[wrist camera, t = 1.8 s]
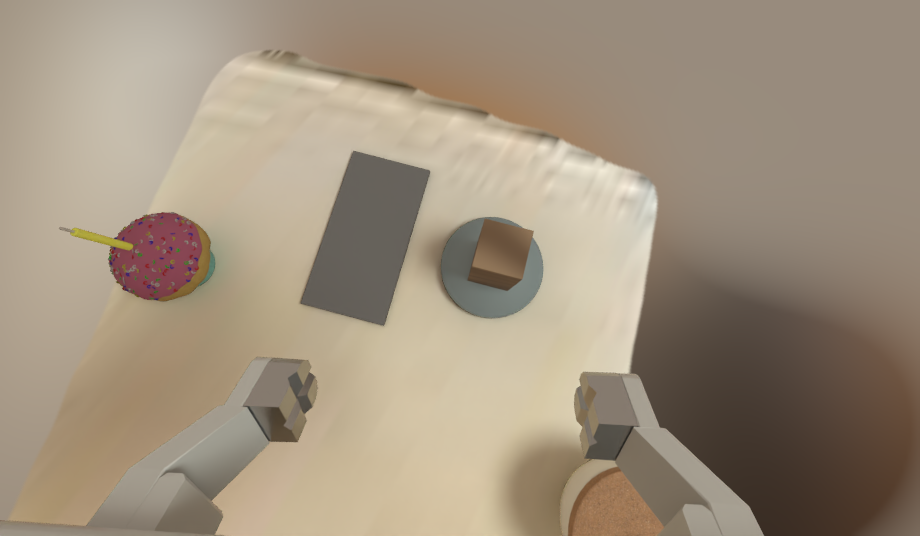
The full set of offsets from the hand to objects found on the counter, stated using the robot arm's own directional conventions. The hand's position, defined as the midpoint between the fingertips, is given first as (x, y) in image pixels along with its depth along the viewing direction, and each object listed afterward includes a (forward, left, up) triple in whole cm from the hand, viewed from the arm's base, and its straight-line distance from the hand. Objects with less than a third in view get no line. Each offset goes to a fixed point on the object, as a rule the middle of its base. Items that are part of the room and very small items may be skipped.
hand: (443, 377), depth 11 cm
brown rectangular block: (+10, -3, -27) cm, 29 cm away
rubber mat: (+10, +11, -28) cm, 32 cm away
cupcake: (+2, +28, -28) cm, 40 cm away
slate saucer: (+10, -3, -28) cm, 30 cm away
